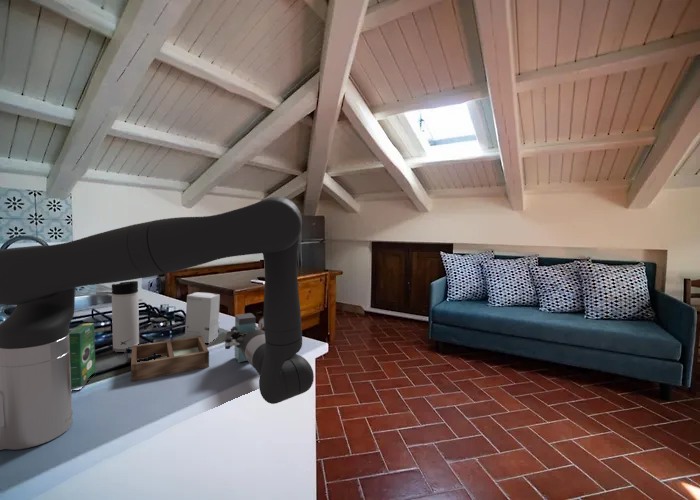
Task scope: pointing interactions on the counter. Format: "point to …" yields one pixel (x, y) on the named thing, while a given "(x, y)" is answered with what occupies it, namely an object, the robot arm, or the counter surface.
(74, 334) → the coffee box
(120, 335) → the travel mug
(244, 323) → the teal square bottle
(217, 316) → the skincare box
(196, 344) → the caddy
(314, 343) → the counter surface
